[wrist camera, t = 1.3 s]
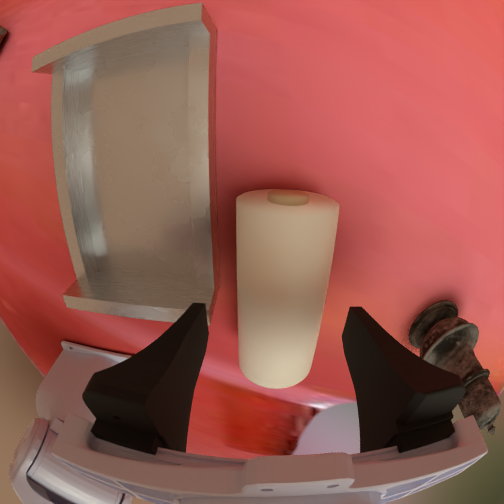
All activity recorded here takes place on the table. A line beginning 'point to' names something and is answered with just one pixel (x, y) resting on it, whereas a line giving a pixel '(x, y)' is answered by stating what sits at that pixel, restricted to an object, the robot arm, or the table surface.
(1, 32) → the tin
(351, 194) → the table surface
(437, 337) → the rusty metal finial
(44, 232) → the table surface
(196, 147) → the cradle
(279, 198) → the roll
